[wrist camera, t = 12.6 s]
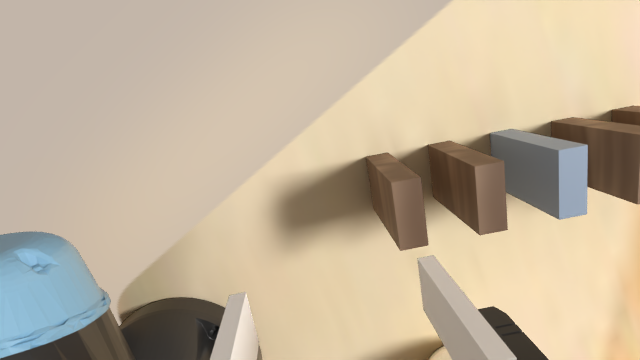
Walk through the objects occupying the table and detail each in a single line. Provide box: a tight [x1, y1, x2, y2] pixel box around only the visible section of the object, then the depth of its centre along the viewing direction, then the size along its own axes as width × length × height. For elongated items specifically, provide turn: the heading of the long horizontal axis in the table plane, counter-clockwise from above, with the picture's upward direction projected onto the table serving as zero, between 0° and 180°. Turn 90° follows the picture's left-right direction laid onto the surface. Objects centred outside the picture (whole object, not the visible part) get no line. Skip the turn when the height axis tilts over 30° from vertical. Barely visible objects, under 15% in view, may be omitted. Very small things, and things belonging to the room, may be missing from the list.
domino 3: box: [490, 129, 588, 220], centre depth 30 cm, size 2×5×9 cm, turn 10°
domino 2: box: [428, 141, 508, 235], centre depth 30 cm, size 2×5×9 cm, turn 10°
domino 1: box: [366, 153, 428, 251], centre depth 29 cm, size 2×5×9 cm, turn 10°
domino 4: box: [551, 117, 640, 204], centre depth 30 cm, size 2×5×9 cm, turn 10°
